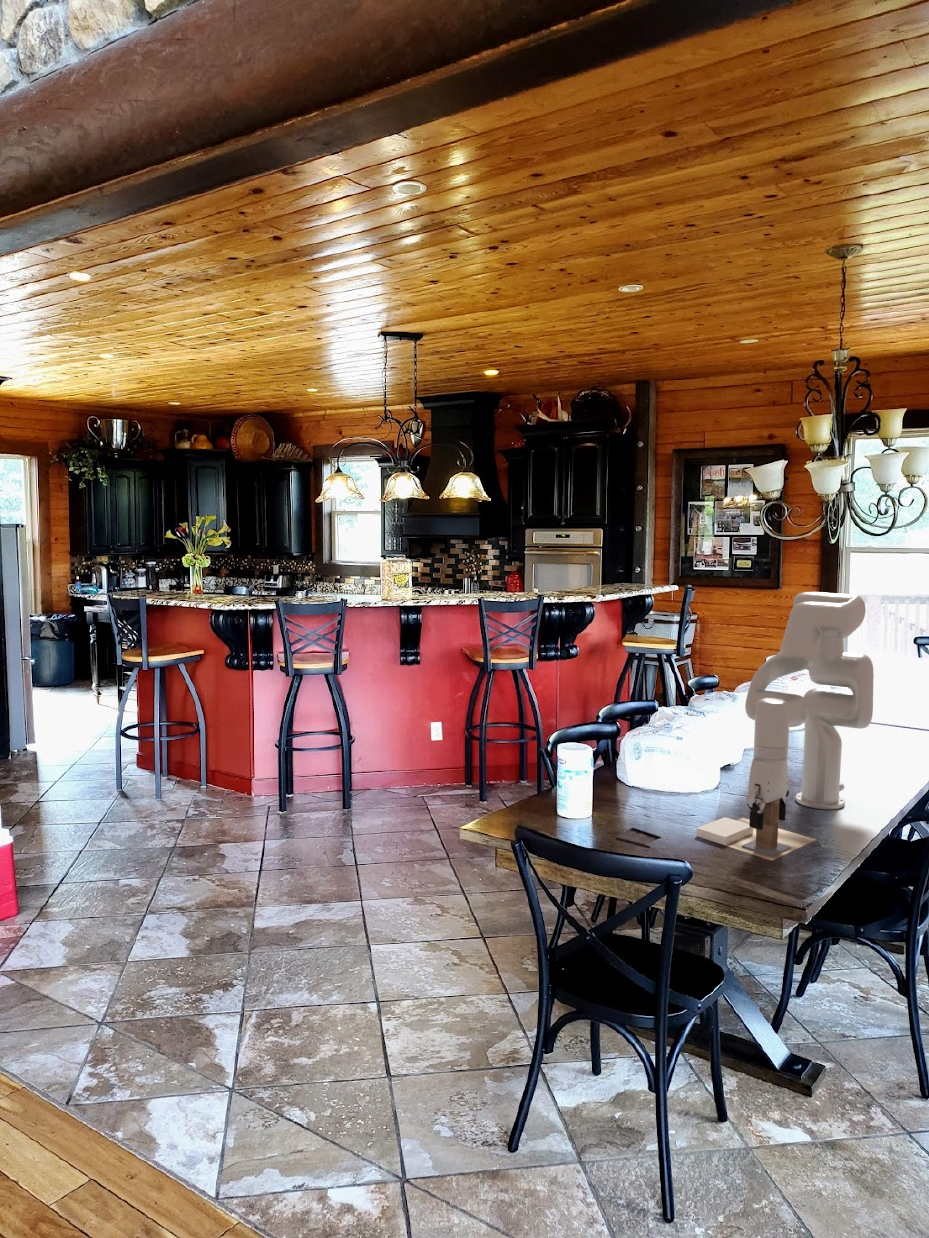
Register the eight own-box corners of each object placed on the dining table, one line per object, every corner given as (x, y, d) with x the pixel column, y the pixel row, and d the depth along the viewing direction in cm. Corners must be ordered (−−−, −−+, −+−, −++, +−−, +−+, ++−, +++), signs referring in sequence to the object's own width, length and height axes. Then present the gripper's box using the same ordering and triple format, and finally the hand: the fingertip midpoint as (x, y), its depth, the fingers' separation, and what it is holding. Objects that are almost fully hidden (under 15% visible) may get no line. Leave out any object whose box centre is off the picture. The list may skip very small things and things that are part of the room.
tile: (724, 817, 228) (696, 827, 220) (753, 825, 222) (725, 837, 214) (724, 825, 228) (696, 836, 220) (753, 833, 222) (725, 845, 214)
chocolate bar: (615, 836, 221) (650, 817, 235) (615, 840, 222) (650, 820, 235) (649, 845, 216) (683, 825, 230) (649, 849, 216) (683, 828, 230)
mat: (760, 838, 218) (760, 837, 218) (791, 848, 212) (791, 846, 212) (741, 846, 213) (741, 845, 213) (772, 856, 207) (772, 855, 207)
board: (742, 822, 233) (742, 817, 233) (816, 844, 218) (816, 839, 218) (696, 840, 220) (696, 836, 220) (771, 865, 205) (772, 860, 205)
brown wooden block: (763, 842, 215) (766, 792, 214) (777, 846, 213) (779, 796, 211) (755, 845, 213) (757, 795, 212) (769, 849, 210) (771, 799, 209)
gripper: (775, 742, 218) (772, 811, 221) (735, 755, 207) (732, 827, 209) (805, 748, 213) (801, 819, 215) (765, 762, 202) (761, 836, 204)
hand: (767, 823), depth 212 cm, fingers open, 9 cm apart
